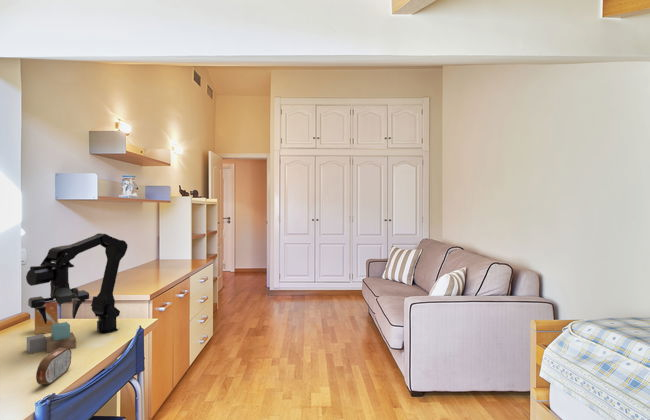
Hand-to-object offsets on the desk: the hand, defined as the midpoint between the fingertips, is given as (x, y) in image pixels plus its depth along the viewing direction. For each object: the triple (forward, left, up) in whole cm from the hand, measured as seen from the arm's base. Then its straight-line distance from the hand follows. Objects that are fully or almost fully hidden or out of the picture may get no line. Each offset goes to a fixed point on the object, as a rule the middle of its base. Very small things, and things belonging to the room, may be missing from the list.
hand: (59, 320), depth 151 cm
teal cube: (0, 0, -7) cm, 7 cm away
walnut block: (0, 0, -11) cm, 11 cm away
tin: (+8, +29, -10) cm, 32 cm away
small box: (-1, -25, -10) cm, 27 cm away
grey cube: (+7, -3, -10) cm, 13 cm away
